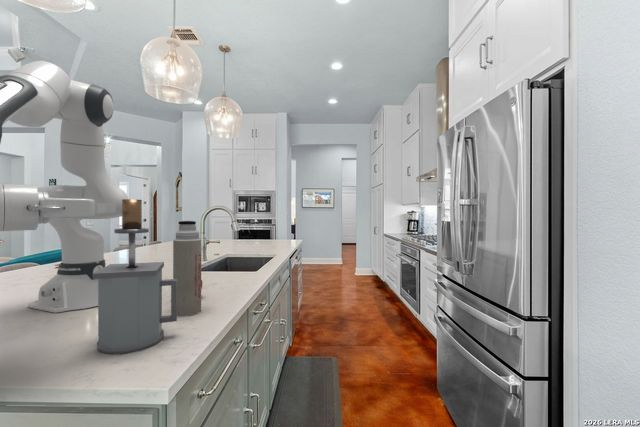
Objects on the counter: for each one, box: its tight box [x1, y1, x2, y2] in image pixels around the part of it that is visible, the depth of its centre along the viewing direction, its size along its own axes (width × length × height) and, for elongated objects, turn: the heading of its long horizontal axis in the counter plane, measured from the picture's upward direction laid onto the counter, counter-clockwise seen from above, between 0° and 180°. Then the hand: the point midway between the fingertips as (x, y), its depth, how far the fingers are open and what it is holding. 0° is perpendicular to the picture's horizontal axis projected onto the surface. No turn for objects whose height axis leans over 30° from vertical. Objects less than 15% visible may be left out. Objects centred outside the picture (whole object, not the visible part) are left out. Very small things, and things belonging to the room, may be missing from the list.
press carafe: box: [93, 261, 178, 355], centre depth 75 cm, size 17×14×18 cm
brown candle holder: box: [113, 198, 150, 268], centre depth 74 cm, size 10×10×19 cm
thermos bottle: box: [172, 220, 202, 317], centre depth 96 cm, size 8×8×28 cm
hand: (107, 208), depth 71 cm, fingers open, 8 cm apart
